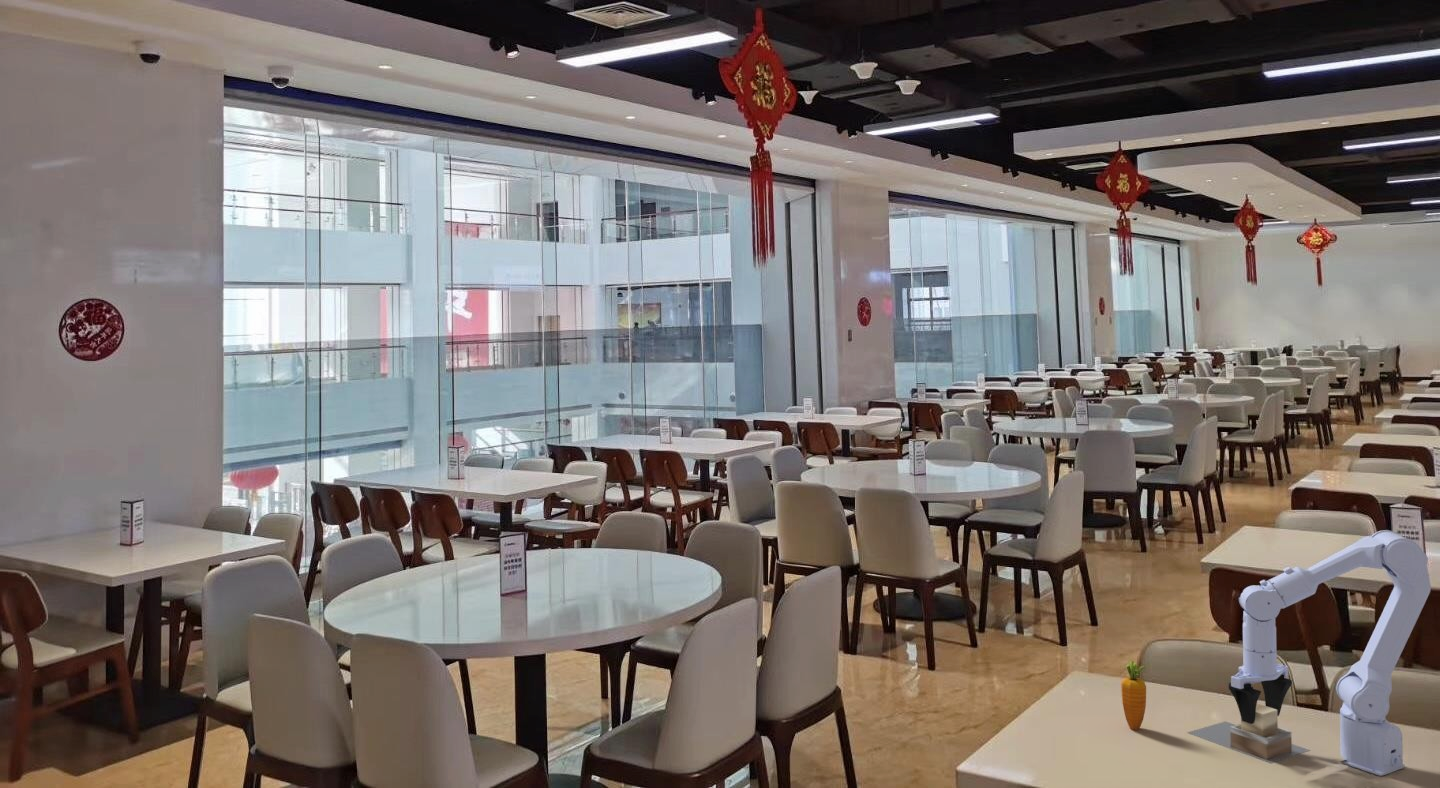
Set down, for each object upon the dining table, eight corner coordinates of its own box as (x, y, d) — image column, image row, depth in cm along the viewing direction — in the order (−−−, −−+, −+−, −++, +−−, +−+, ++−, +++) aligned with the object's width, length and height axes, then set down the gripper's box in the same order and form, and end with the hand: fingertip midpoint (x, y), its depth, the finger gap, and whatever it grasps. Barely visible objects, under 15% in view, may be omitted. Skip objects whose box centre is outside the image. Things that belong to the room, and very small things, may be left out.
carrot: (1125, 727, 208) (1124, 656, 208) (1150, 732, 205) (1149, 660, 205) (1118, 734, 205) (1116, 662, 204) (1143, 739, 201) (1142, 666, 201)
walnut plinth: (1291, 751, 191) (1291, 731, 191) (1266, 760, 187) (1266, 739, 187) (1255, 739, 197) (1254, 719, 197) (1230, 746, 194) (1230, 726, 194)
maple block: (1277, 735, 192) (1277, 709, 191) (1263, 739, 189) (1262, 714, 189) (1255, 727, 195) (1255, 702, 195) (1241, 732, 193) (1240, 707, 193)
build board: (1310, 755, 191) (1310, 750, 191) (1270, 768, 186) (1270, 763, 186) (1225, 726, 207) (1225, 721, 207) (1186, 737, 202) (1186, 732, 202)
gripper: (1264, 638, 199) (1264, 705, 199) (1216, 649, 192) (1217, 719, 192) (1298, 646, 192) (1299, 715, 193) (1250, 659, 186) (1251, 730, 186)
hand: (1260, 718), depth 192 cm, fingers open, 7 cm apart
